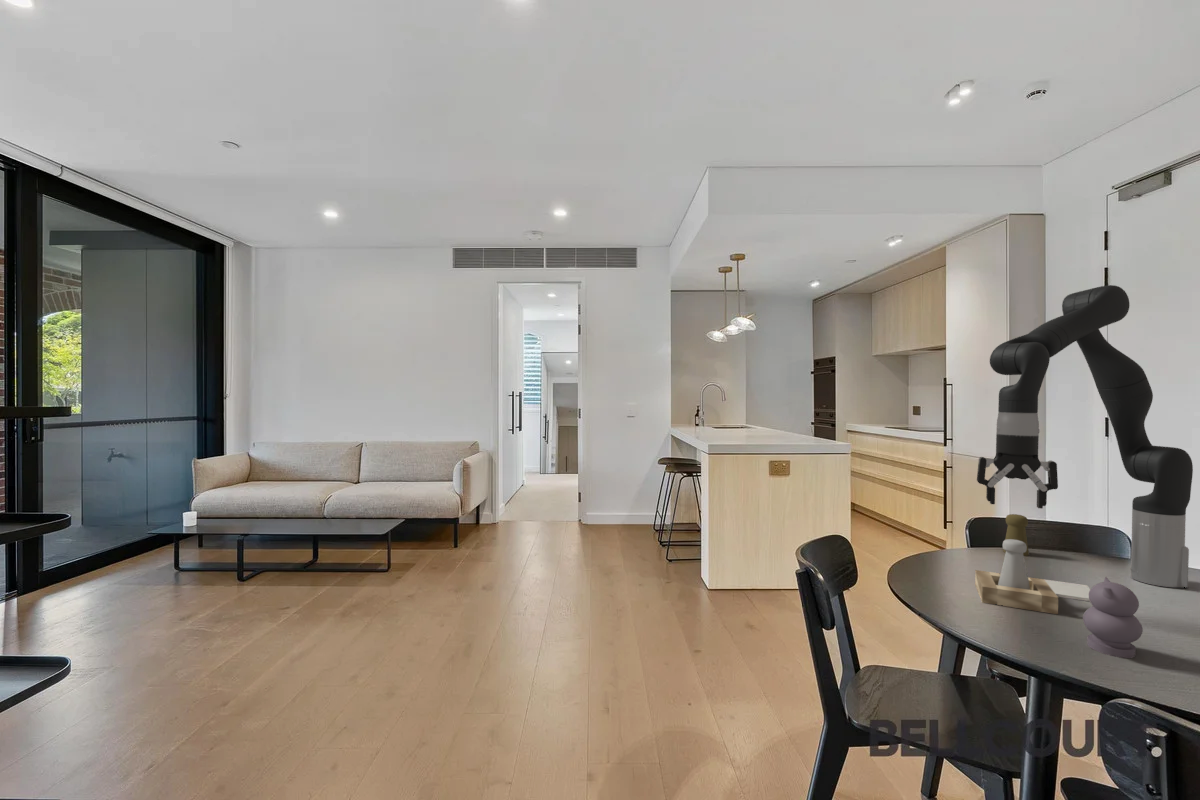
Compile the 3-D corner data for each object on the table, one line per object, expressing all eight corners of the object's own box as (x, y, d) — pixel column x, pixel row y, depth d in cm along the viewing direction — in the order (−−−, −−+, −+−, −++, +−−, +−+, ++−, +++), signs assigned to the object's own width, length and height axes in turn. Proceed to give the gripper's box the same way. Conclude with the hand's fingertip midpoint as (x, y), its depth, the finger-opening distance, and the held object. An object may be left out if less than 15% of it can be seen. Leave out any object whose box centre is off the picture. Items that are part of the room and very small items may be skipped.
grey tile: (1086, 587, 131) (1086, 585, 131) (1101, 603, 121) (1101, 600, 121) (1028, 579, 136) (1028, 577, 136) (1038, 593, 127) (1038, 591, 127)
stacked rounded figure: (1142, 665, 93) (1144, 594, 93) (1081, 650, 99) (1082, 583, 98) (1141, 648, 99) (1143, 582, 99) (1083, 635, 105) (1084, 572, 105)
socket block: (1043, 594, 126) (1044, 579, 126) (1057, 614, 115) (1058, 597, 115) (975, 584, 132) (975, 570, 132) (982, 602, 121) (982, 586, 121)
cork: (1010, 555, 157) (1011, 516, 157) (998, 549, 163) (999, 512, 163) (1034, 556, 156) (1034, 517, 156) (1021, 550, 162) (1022, 513, 162)
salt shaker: (1019, 594, 126) (1020, 537, 126) (1036, 604, 120) (1037, 544, 120) (991, 593, 127) (993, 536, 127) (1007, 602, 121) (1008, 543, 121)
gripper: (1053, 433, 123) (1051, 506, 123) (976, 430, 130) (975, 499, 130) (1062, 435, 116) (1060, 512, 117) (980, 432, 123) (978, 505, 124)
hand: (1015, 505), depth 123 cm, fingers open, 8 cm apart
